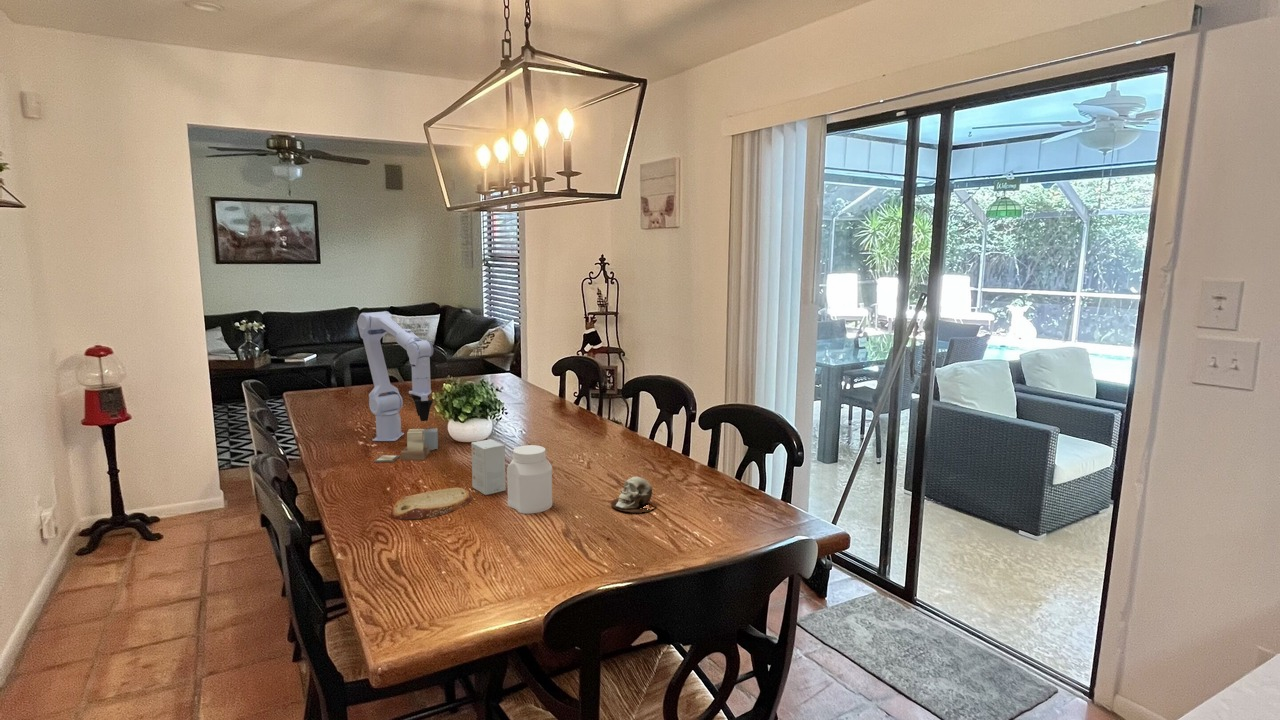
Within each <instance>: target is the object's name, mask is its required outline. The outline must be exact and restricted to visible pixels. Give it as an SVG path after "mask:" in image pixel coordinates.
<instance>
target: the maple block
mask: <svg viewBox="0 0 1280 720" xmlns="http://www.w3.org/2000/svg"><path fill="white" fill-rule="evenodd" d="M406 444H407V446H406V447H407V449H408V451H423V449H424V447H425V445H424V428H409V429H408V430H407V433H406Z"/></svg>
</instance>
